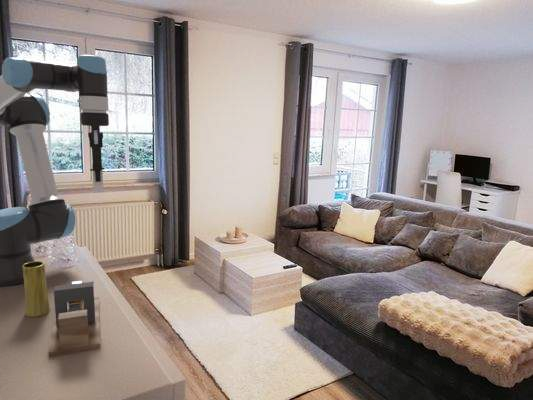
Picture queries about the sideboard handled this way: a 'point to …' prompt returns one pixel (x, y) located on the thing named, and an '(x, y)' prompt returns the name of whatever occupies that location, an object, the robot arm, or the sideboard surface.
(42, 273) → the vase
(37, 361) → the sideboard surface
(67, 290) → the collar
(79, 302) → the light grey bar
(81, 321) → the wooden stand
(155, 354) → the sideboard surface
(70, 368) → the sideboard surface
